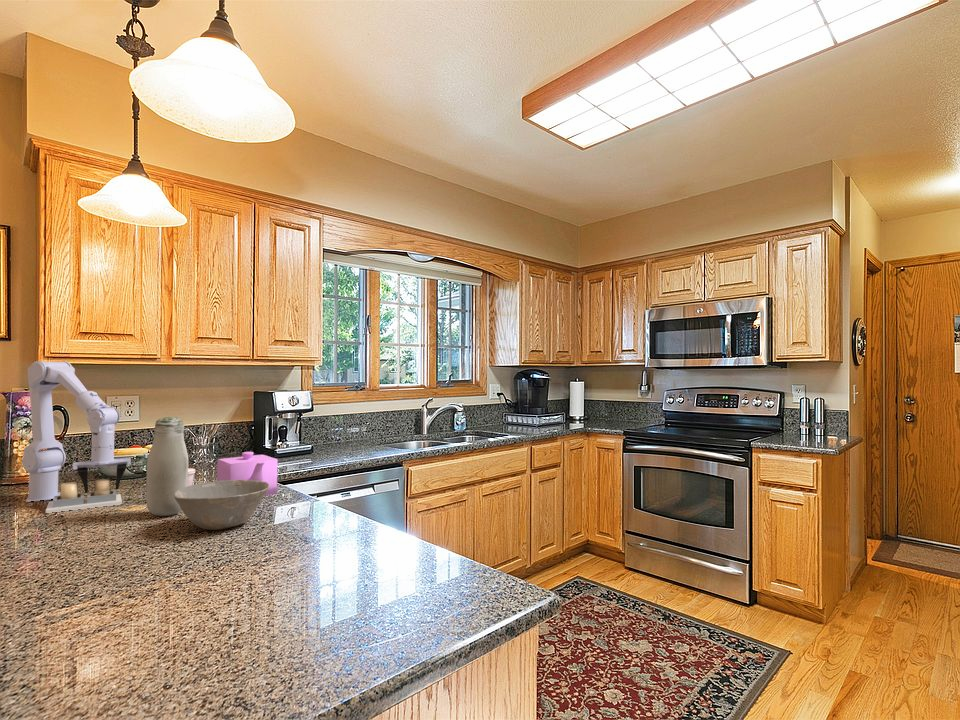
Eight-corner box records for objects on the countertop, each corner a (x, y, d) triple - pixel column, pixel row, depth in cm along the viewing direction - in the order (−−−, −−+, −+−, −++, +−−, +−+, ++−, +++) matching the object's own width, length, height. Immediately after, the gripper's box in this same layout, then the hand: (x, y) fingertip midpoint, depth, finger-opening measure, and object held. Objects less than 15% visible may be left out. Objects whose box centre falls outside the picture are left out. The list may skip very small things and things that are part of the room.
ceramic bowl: (154, 530, 134) (155, 491, 134) (233, 510, 154) (234, 476, 155) (209, 544, 124) (210, 502, 124) (286, 520, 144) (286, 484, 144)
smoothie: (187, 503, 162) (188, 458, 162) (167, 503, 162) (168, 458, 162) (199, 498, 168) (199, 455, 169) (179, 498, 168) (180, 454, 169)
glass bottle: (141, 521, 142) (143, 418, 143) (153, 511, 152) (155, 415, 153) (181, 518, 145) (183, 418, 146) (190, 509, 155) (192, 415, 156)
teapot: (237, 505, 160) (238, 459, 161) (212, 491, 179) (213, 450, 179) (285, 497, 171) (286, 454, 171) (257, 485, 189) (257, 446, 189)
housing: (48, 505, 159) (49, 482, 159) (120, 496, 169) (120, 475, 169) (45, 513, 149) (46, 489, 149) (121, 504, 160) (122, 481, 160)
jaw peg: (94, 499, 162) (94, 479, 162) (109, 497, 164) (110, 478, 165) (93, 501, 159) (94, 482, 159) (109, 500, 161) (110, 480, 161)
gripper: (72, 450, 154) (71, 496, 154) (131, 446, 163) (130, 489, 163) (73, 447, 160) (72, 491, 160) (130, 443, 169) (129, 485, 168)
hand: (101, 490), depth 162 cm, fingers open, 7 cm apart
